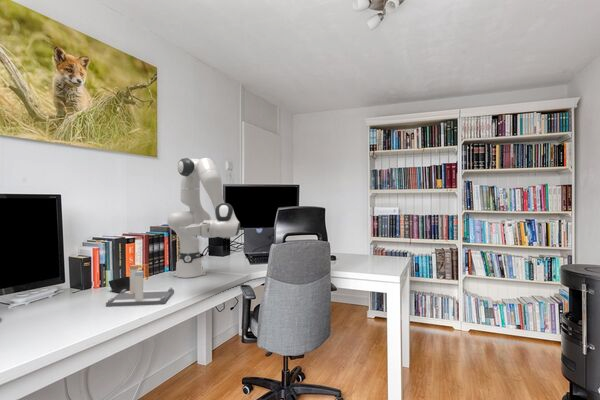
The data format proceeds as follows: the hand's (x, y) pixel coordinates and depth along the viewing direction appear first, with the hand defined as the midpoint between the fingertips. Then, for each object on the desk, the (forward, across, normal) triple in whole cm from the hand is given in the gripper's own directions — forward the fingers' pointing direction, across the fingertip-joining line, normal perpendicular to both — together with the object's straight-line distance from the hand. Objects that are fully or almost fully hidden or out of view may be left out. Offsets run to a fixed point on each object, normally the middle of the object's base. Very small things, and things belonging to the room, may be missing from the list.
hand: (178, 229), depth 159 cm
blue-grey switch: (+13, +16, +30) cm, 36 cm away
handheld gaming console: (+28, -8, +32) cm, 43 cm away
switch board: (+14, +9, +32) cm, 36 cm away
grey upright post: (+20, +2, +30) cm, 36 cm away
